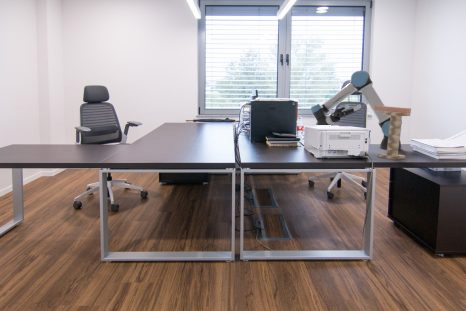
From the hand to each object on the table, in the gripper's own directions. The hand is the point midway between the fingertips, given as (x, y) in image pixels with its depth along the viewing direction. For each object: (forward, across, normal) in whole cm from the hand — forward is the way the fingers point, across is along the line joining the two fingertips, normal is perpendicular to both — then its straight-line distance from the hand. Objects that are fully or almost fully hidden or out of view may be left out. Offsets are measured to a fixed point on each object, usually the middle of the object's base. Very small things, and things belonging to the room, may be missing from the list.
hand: (354, 105), depth 298 cm
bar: (+25, 0, -16) cm, 30 cm away
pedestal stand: (+13, 0, -44) cm, 46 cm away
